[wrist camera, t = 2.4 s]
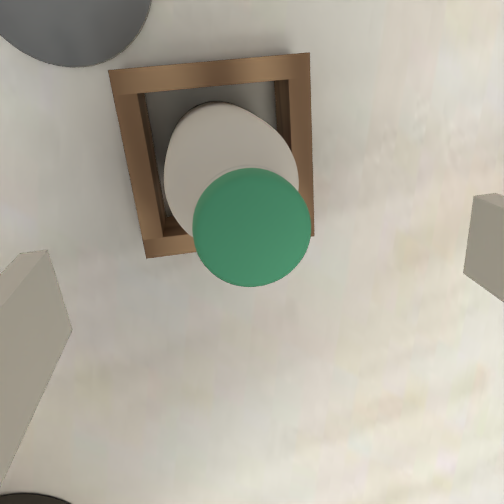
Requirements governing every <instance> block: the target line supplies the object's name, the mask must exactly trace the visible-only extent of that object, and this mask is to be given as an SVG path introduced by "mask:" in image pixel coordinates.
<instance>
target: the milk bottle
mask: <svg viewBox="0 0 504 504" xmlns="http://www.w3.org/2000/svg"><path fill="white" fill-rule="evenodd" d="M164 189H165V194H166V198H167V201H168V204H169V207H170V209H171V212H172V214H173V215H174V217H175V219H176V220H177V222H178V223H179V224H180V226H181V227H182V228H183V229H184V230H185V231H186V232H187V233H188V234H189V235H190V236H191V237H193V240H194V244H195V248H196V251H197V253H198V256H199V257H200V259H201V261H202V262H203V264H204V265H205V266H206V267H207V268H208V269H209V270H210V271H211V272H212V273H213V274H214V275H215V276H217V277H218V278H220V279H221V280H223V281H225V282H227V283H230V284H233V285H237V286H243V287H256V286H263V285H267V284H270V283H273V282H275V281H277V280H279V279H281V278H283V277H284V276H286V275H287V274H288V273H290V272H291V271H292V270H293V269H294V268H295V267H296V266H297V265H298V263H299V262H300V261H301V259H302V258H303V256H304V254H305V253H306V250H307V248H308V245H309V241H310V236H311V219H310V214H309V210H308V207H307V205H306V203H305V201H304V199H303V198H302V196H301V195H300V193H299V192H298V189H299V179H298V171H297V166H296V163H295V159H294V157H293V154H292V152H291V151H290V149H289V147H288V145H287V143H286V142H285V140H284V139H283V138H282V137H281V135H280V134H279V133H278V132H277V131H276V130H275V129H274V128H272V127H271V126H270V125H269V124H268V123H266V122H265V121H264V120H262V119H261V118H259V117H257V116H256V115H254V114H252V113H250V112H249V111H247V110H245V109H243V108H241V107H239V106H237V105H234V104H231V103H226V102H208V103H204V104H201V105H198V106H196V107H194V108H193V109H191V110H189V111H188V112H187V113H186V114H185V115H184V116H183V117H182V118H181V119H180V120H179V122H178V123H177V125H176V126H175V128H174V130H173V133H172V135H171V139H170V142H169V146H168V150H167V155H166V160H165V166H164Z"/></svg>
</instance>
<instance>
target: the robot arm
mask: <svg viewBox="0 0 504 504" xmlns="http://www.w3.org/2000/svg"><path fill="white" fill-rule="evenodd" d="M463 273H464V274H465V275H466V276H468V277H469V278H471V279H472V280H473V281H475V282H476V283H478V284H479V285H480V286H482V287H483V288H485V289H486V290H487V291H489V292H490V293H491V294H493V295H494V296H496V297H497V298H498V299H500V300H501V301H503V302H504V196H502V195H500V194H497V193H493V194H485V195H477V196H474V198H473V205H472V212H471V220H470V227H469V234H468V241H467V249H466V256H465V263H464V270H463ZM71 332H72V327H71V324H70V320H69V317H68V314H67V311H66V307H65V304H64V301H63V298H62V294H61V291H60V288H59V285H58V281H57V278H56V275H55V272H54V268H53V265H52V262H51V259H50V255H49V252H48V250H43V251H35V252H27V253H20V254H19V255H18V256H17V257H16V258H15V259H14V260H13V261H12V262H11V264H10V265H9V266H8V267H7V268H6V269H5V270H4V271H3V272H2V273H1V274H0V487H1V484H2V482H3V480H4V478H5V476H6V473H7V471H8V469H9V467H10V465H11V463H12V460H13V458H14V456H15V454H16V452H17V449H18V447H19V445H20V443H21V441H22V439H23V436H24V434H25V432H26V430H27V428H28V426H29V423H30V421H31V419H32V417H33V415H34V412H35V410H36V408H37V406H38V404H39V402H40V399H41V397H42V395H43V393H44V391H45V388H46V386H47V384H48V382H49V380H50V378H51V375H52V373H53V371H54V369H55V367H56V364H57V362H58V360H59V358H60V356H61V354H62V351H63V349H64V347H65V345H66V343H67V340H68V338H69V336H70V334H71ZM0 504H67V503H65V502H63V501H60V500H58V499H54V498H51V497H46V496H41V495H32V494H16V495H7V496H1V497H0Z"/></svg>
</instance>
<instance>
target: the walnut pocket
mask: <svg viewBox="0 0 504 504" xmlns="http://www.w3.org/2000/svg"><path fill="white" fill-rule="evenodd" d="M108 73H109V78H110V82H111V87H112V92H113V97H114V102H115V107H116V112H117V117H118V122H119V127H120V131H121V136H122V141H123V146H124V151H125V156H126V161H127V166H128V171H129V176H130V180H131V185H132V190H133V195H134V200H135V205H136V210H137V215H138V220H139V224H140V229H141V234H142V239H143V244H144V249H145V254H146V259H147V258H155V257H162V256H169V255H177V254H184V253H192V252H197V251H196V248H195V244H194V240H193V237H191V236H190V235H189V234H188V233H187V232H186V231H185V230H184V229H183V228H182V227H181V226H180V224H179V223H178V222H177V220H176V219H175V217H174V216H169V217H166V213H165V207H164V201H163V196H162V190H161V184H160V179H159V173H158V167H157V162H156V156H155V150H154V144H153V139H152V133H151V127H150V122H149V116H148V110H147V105H146V99H145V93H147V92H158V91H168V90H179V89H190V88H200V87H211V86H222V85H232V84H243V83H253V82H264V81H274V87H275V104H276V122H277V132H278V133H279V134H280V135H281V137H282V138H283V139H284V140H285V142H286V143H287V145H288V147H289V149H290V151H291V152H292V154H293V157H294V159H295V163H296V166H297V171H298V179H299V189H298V192H299V193H300V195H301V196H302V198H303V199H304V201H305V203H306V205H307V207H308V210H309V214H310V219H311V236H314V201H313V162H312V123H311V84H310V52H309V53H298V54H287V55H275V56H264V57H253V58H241V59H230V60H218V61H207V62H196V63H184V64H173V65H162V66H150V67H139V68H128V69H116V70H108ZM311 236H310V237H311Z"/></svg>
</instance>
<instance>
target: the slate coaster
mask: <svg viewBox="0 0 504 504" xmlns="http://www.w3.org/2000/svg"><path fill="white" fill-rule="evenodd" d="M150 5H151V0H0V35H1V36H2V37H3V38H4V39H6V40H7V41H8V42H9V43H10V44H12V45H13V46H14V47H16V48H17V49H19V50H20V51H22V52H24V53H25V54H27V55H29V56H31V57H33V58H35V59H38V60H40V61H43V62H46V63H49V64H53V65H57V66H65V67H87V66H93V65H97V64H100V63H103V62H106V61H108V60H110V59H112V58H114V57H115V56H117V55H118V54H120V53H121V52H123V51H124V50H125V49H126V48H127V47H128V46H129V45H130V44H131V43H132V42H133V41H134V39H135V38H136V37H137V36H138V34H139V32H140V31H141V29H142V27H143V25H144V23H145V21H146V18H147V16H148V13H149V9H150Z"/></svg>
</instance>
